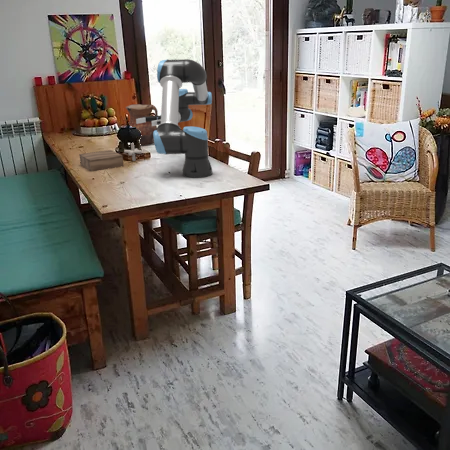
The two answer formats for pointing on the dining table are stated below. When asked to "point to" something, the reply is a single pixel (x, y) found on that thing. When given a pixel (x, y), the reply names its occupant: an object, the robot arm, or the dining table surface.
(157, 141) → the robot arm
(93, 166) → the stand
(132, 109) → the jug
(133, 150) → the pipe connector
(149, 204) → the dining table surface
